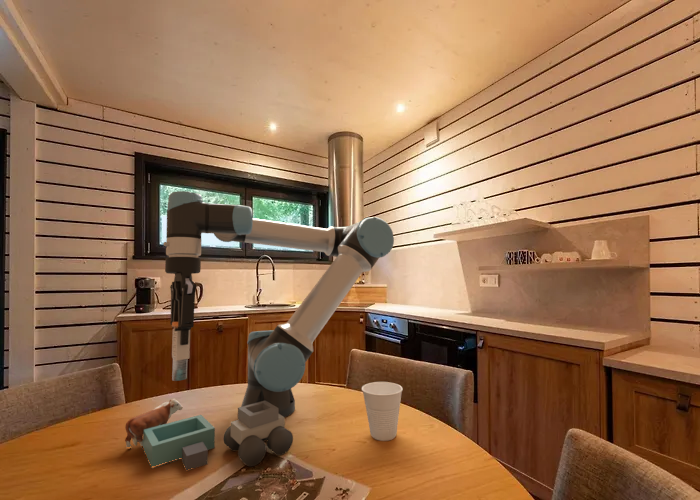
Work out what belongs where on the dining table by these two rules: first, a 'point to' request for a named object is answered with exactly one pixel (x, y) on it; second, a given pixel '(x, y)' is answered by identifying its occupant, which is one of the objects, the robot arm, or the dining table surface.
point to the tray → (176, 438)
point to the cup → (382, 408)
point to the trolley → (258, 432)
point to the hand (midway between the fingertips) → (180, 357)
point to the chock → (194, 455)
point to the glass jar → (178, 361)
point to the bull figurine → (150, 421)
